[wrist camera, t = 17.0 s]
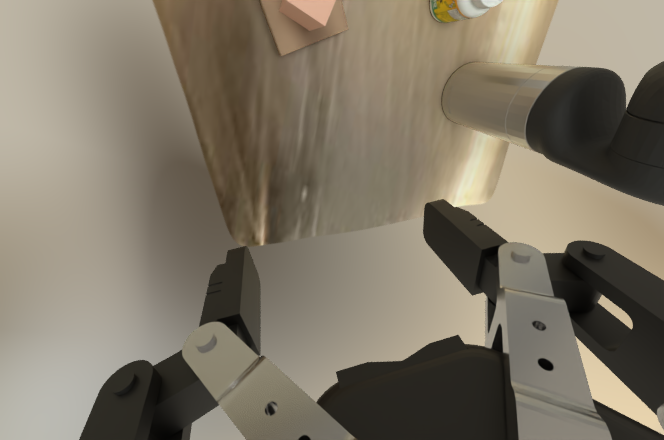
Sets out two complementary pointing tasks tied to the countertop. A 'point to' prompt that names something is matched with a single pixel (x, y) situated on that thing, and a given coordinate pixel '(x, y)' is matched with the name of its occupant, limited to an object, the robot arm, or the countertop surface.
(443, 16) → the supplement bottle
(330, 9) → the salmon pink block
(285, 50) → the walnut block
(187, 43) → the countertop surface
